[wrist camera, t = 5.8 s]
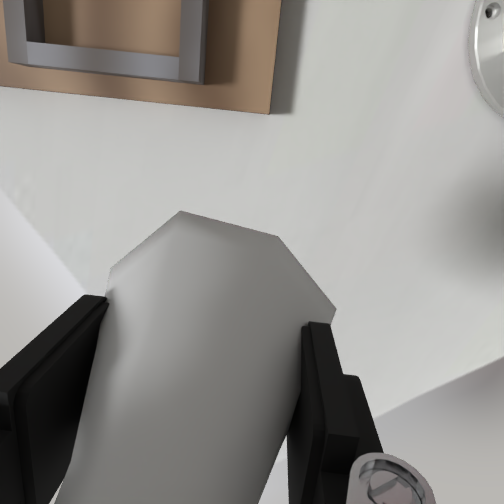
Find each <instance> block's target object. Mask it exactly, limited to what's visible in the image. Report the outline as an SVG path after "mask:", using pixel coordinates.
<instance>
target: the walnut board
mask: <svg viewBox="0 0 504 504" xmlns="http://www.w3.org/2000/svg"><path fill="white" fill-rule="evenodd" d="M281 1H282V0H0V86H4V87H14V88H23V89H33V90H42V91H51V92H61V93H70V94H80V95H89V96H99V97H108V98H118V99H127V100H137V101H146V102H156V103H165V104H174V105H184V106H193V107H203V108H212V109H222V110H231V111H241V112H250V113H260V114H269V112H270V102H271V93H272V84H273V75H274V65H275V56H276V47H277V38H278V29H279V19H280V10H281Z"/></svg>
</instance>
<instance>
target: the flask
mask: <svg viewBox="0 0 504 504" xmlns="http://www.w3.org/2000/svg"><path fill="white" fill-rule="evenodd" d="M105 297H106V298H107V300H106V302H108V303H109V306H108V308H107V310H106V313H105V315H104V317H103V319H102V321H101V324H100V329H99V334H98V340H97V346H96V351H95V355H94V360H93V364H92V369H91V373H90V378H89V382H88V387H87V391H86V396H85V400H84V405H83V409H82V414H81V418H80V422H79V427H78V431H77V436H76V440H75V445H74V449H73V454H72V458H71V462H70V465H69V467H68V470H67V472H66V475H65V478H64V480H63V483H62V485H61V488H60V490H59V493H58V496H57V498H56V501H55V503H54V504H258V503H259V500H260V498H261V495H262V493H263V490H264V488H265V485H266V483H267V480H268V478H269V475H270V473H271V470H272V468H273V465H274V463H275V460H276V457H277V455H278V452H279V450H280V448H281V446H282V443H283V441H284V439H285V437H286V435H287V433H288V430H289V427H290V423H291V420H292V417H293V414H294V410H295V407H296V404H297V401H298V397H299V395H300V392H301V329H302V326H308V322H309V321H312V322H321V323H329V324H330V325H331V322H332V320H333V317H334V314H335V312H336V308H335V306H334V305H333V304H332V303H331V301H330V300H329V299H328V298H327V296H326V295H325V294H324V293H323V291H322V290H321V289H320V288H319V286H318V285H317V284H316V283H315V281H314V280H313V279H312V278H311V277H310V275H309V274H308V273H307V272H306V270H305V269H304V268H303V267H302V265H301V264H300V263H299V262H298V260H297V259H296V258H295V257H294V255H293V254H292V253H291V252H290V250H289V249H288V248H287V247H286V245H285V244H284V243H283V242H282V240H281V239H280V238H279V237H278V236H275V235H271V234H267V233H264V232H260V231H256V230H252V229H248V228H245V227H241V226H237V225H233V224H229V223H226V222H222V221H218V220H214V219H210V218H207V217H203V216H199V215H195V214H191V213H188V212H184V211H179V212H178V213H177V214H176V215H174V216H173V217H172V218H171V219H170V220H168V221H167V222H166V223H165V224H164V225H162V226H161V227H160V228H159V229H157V230H156V231H155V232H154V233H153V234H151V235H150V236H149V237H148V238H147V239H145V240H144V241H143V242H142V243H141V244H139V245H138V246H137V247H136V248H135V249H133V250H132V251H131V252H130V253H128V254H127V255H126V256H125V257H124V258H122V259H121V260H120V261H119V262H118V263H116V264H115V265H114V266H113V267H112V268H111V269H110V274H109V278H108V283H107V287H106V293H105Z"/></svg>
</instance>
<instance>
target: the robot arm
mask: <svg viewBox="0 0 504 504" xmlns="http://www.w3.org/2000/svg"><path fill="white" fill-rule="evenodd" d="M485 10H486V11H488V13H489V16H488V18H487V17H486V15H485ZM468 48H469V63H470V66H471V70H472V74H473V78H474V81H475V83H476V85H477V87H478V89H479V91H480V93H481V95H482V97H483V98H484V99H485V101H486V102H487V103H488V104H489V106H490V107H491V108H492V109H493V110H494V111H495V112H496V113H498V114H499V115H500V116H501V117H503V118H504V0H476V3H475V6H474V10H473V13H472V16H471V21H470V29H469V37H468ZM106 300H107V298H106V297H102V296H94V295H83V296H82V297H81V298H80V299H79V300H77V301H76V302H75V303H74V304H73V305H72V306H71V307H69V308H68V309H67V310H66V311H65V312H64V313H63V314H61V315H60V316H59V317H58V318H57V319H56V320H55V321H54V322H52V324H50V325H49V326H48V327H47V328H46V329H45V330H44V331H42V332H41V333H40V334H39V335H38V336H37V337H36V338H34V339H33V340H32V341H31V342H30V343H29V344H28V345H26V346H25V347H24V348H23V349H22V350H21V351H20V352H19V353H18V354H16V355H15V356H14V357H13V358H12V359H11V360H10V361H8V362H7V363H6V364H5V365H4V366H3V367H2V368H1V369H0V504H49V503H50V501H51V499H52V498H53V496H54V494H55V492H56V491H57V489H58V488H59V486H60V484H61V483H62V481H63V479H64V478H65V475H66V472H67V470H68V467H69V465H70V462H71V458H72V454H73V449H74V445H75V440H76V436H77V431H78V427H79V422H80V418H81V414H82V409H83V405H84V400H85V396H86V391H87V387H88V382H89V378H90V373H91V369H92V364H93V360H94V355H95V351H96V346H97V340H98V334H99V329H100V324H101V321H102V319H103V317H104V315H105V313H106V310H107V308H108V306H109V303H108V302H106ZM287 458H288V489H289V504H436V502H435V498H434V494H433V491H432V489H431V487H430V486H429V484H428V483H427V481H426V479H425V478H424V477H423V476H422V475H421V474H420V473H419V472H418V471H417V470H416V469H415V468H414V467H412V466H411V465H409V464H408V463H407V462H405V461H403V460H401V459H399V458H397V457H395V456H393V455H389V454H384V452H383V449H382V446H381V443H380V440H379V437H378V434H377V431H376V428H375V425H374V421H373V418H372V415H371V412H370V409H369V406H368V403H367V400H366V397H365V394H364V391H363V387H362V384H361V381H360V379H359V377H358V376H354V375H346V374H343V372H342V368H341V364H340V361H339V357H338V353H337V349H336V346H335V342H334V338H333V334H332V330H331V327H330V324H329V323H321V322H312V321H309V322H308V326H302V329H301V392H300V395H299V397H298V401H297V404H296V407H295V410H294V414H293V417H292V420H291V423H290V427H289V430H288V433H287Z"/></svg>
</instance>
